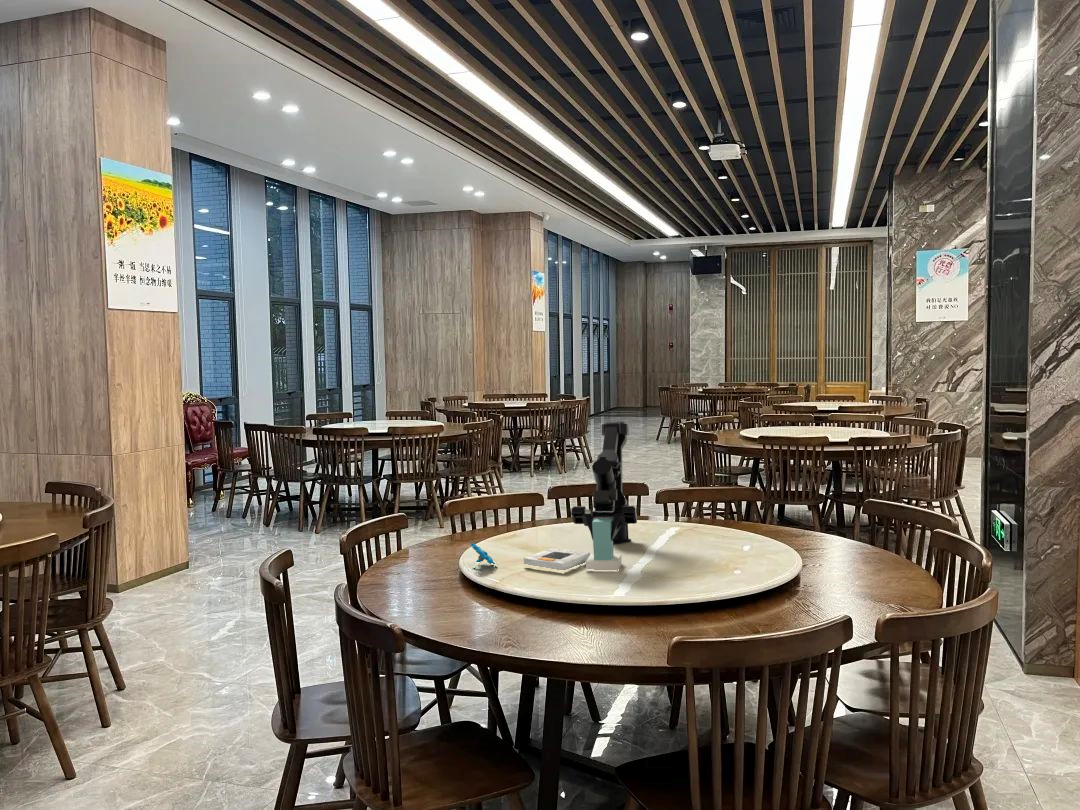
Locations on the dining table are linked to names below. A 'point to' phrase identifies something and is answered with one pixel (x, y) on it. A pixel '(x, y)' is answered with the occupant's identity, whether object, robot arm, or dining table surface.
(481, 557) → the blue splat disc
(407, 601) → the dining table surface
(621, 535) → the robot arm
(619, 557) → the white flat square block
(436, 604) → the dining table surface
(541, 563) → the hole plate
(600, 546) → the teal square peg
